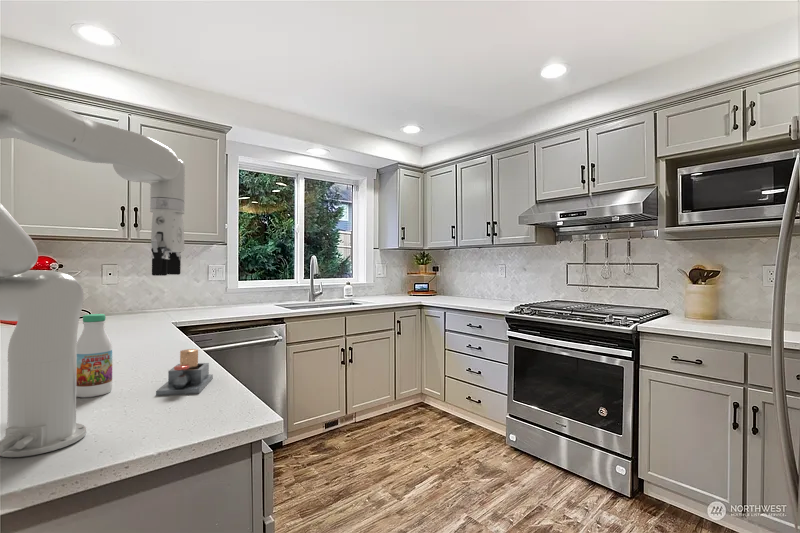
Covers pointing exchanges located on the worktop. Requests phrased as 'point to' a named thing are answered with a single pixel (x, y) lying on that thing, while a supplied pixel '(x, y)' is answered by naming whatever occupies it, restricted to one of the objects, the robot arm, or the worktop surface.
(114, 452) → the worktop surface
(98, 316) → the milk bottle
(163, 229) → the robot arm
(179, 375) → the block
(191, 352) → the pipe stub
